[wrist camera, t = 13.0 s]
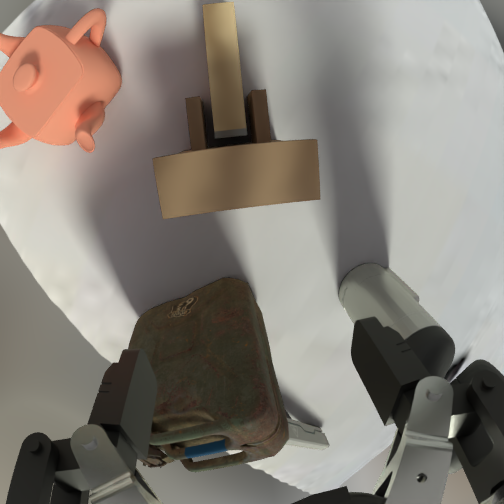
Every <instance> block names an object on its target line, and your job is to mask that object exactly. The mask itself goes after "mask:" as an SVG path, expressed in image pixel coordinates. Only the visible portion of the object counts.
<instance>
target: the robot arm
mask: <svg viewBox="0 0 504 504" xmlns="http://www.w3.org/2000/svg"><path fill="white" fill-rule="evenodd" d="M339 299H340V302H341V304H342V306H343V307H344V309H345V311H346V312H347V314H348V315H349V317H350V319H351V320H352V322H353V323H354V332H353V339H352V346H351V357H352V361H353V364H354V366H355V368H356V370H357V372H358V374H359V376H360V378H361V380H362V382H363V384H364V386H365V387H366V389H367V391H368V393H369V395H370V397H371V399H372V401H373V403H374V405H375V407H376V409H377V411H378V413H379V415H380V417H381V419H382V421H383V423H384V425H385V426H387V425H390V424H393V423H395V424H396V426H397V430H396V432H395V436H394V439H393V442H392V445H391V449H390V451H389V455H388V457H387V460H386V463H385V466H384V468H383V471H382V473H381V476H380V478H379V480H378V481H377V483H376V486H375V488H374V490H373V492H372V494H369V493H361V492H348V489H347V486H345V487H341V488H338V489H334V490H330V491H326V492H322V493H318V494H313V495H311V496H309V497H306V498H304V499H302V500H299V501H297V502H295V503H292V504H441V501H442V497H443V493H444V489H445V485H446V481H447V477H448V474H452V473H455V472H457V471H459V470H460V469H461V468H463V469H464V472H465V474H466V476H467V478H468V480H469V482H470V485H471V487H472V489H473V492H474V494H475V496H476V498H477V501H478V503H479V504H504V376H503V375H502V374H501V373H500V372H499V371H498V370H497V369H496V368H495V367H494V366H493V365H492V364H490V363H489V362H487V361H485V360H476V361H474V362H473V363H471V364H470V365H469V366H468V367H467V368H466V369H465V370H464V371H463V372H462V373H461V374H459V375H458V376H457V377H456V378H457V380H456V379H454V380H453V381H452V382H451V383H449V382H448V381H446V380H445V379H443V378H444V376H445V374H446V373H447V371H448V369H449V367H450V365H451V363H452V361H453V358H454V354H455V345H454V342H453V340H452V338H451V337H450V336H449V334H448V333H447V332H446V331H445V330H444V329H443V328H442V327H441V326H440V325H439V324H438V323H437V322H436V321H435V320H434V319H433V317H432V316H431V315H430V314H429V313H428V312H427V311H426V310H425V309H424V308H423V307H422V306H421V305H420V304H419V296H418V295H417V294H416V293H415V292H414V291H413V290H412V289H411V288H410V287H409V286H408V285H407V284H406V283H405V282H404V281H403V280H401V279H400V278H399V277H398V276H397V275H396V274H395V273H394V272H393V271H392V270H391V269H390V268H383V267H381V266H380V265H378V264H375V263H367V264H363V265H360V266H358V267H356V268H354V269H353V270H352V271H351V272H349V273H348V275H347V276H346V277H345V278H344V280H343V282H342V283H341V286H340V290H339ZM156 395H157V380H156V376H155V374H154V372H153V369H152V367H151V365H150V362H149V360H148V358H147V355H146V353H145V351H144V349H124V350H123V351H122V354H121V357H120V360H119V363H113V364H112V365H111V366H110V367H109V368H108V369H107V371H106V372H105V374H104V377H103V380H102V385H100V388H99V393H98V394H97V397H96V400H95V403H94V406H93V410H92V412H91V415H90V418H89V421H88V424H87V425H84V426H82V427H80V428H78V429H77V430H76V431H75V432H74V433H73V435H72V437H71V438H69V439H62V440H56V441H51V440H50V439H49V438H48V436H47V435H45V434H43V433H39V432H37V433H33V434H30V435H29V436H28V437H27V438H26V439H25V440H24V441H23V443H22V446H21V449H20V452H19V455H18V459H17V462H16V465H15V469H14V472H13V476H12V480H11V484H10V488H9V492H8V496H7V501H6V504H88V499H89V498H90V501H91V503H92V504H163V503H162V502H161V500H160V499H159V498H158V497H157V495H156V494H155V493H154V492H153V490H152V489H151V487H150V486H149V485H148V483H147V482H146V481H145V479H144V478H143V477H142V475H141V474H140V472H139V471H138V470H137V468H136V461H137V459H144V460H147V456H148V449H149V441H150V434H151V427H152V420H153V413H154V407H155V401H156ZM53 483H54V485H53ZM52 486H53V490H52ZM89 490H91V491H92V495H90V496H89ZM51 492H52V496H51ZM50 497H51V502H50Z"/></svg>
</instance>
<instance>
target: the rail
mask: <svg viewBox="0 0 504 504" xmlns="http://www.w3.org/2000/svg"><path fill="white" fill-rule="evenodd" d="M203 18H204V30H205V42H206V53H207V64H208V74H209V85H210V95H211V105H212V114H213V124H214V133H215V139H216V138H225V137H234V136H243V135H247V129H246V119H245V109H244V99H243V89H242V79H241V69H240V59H239V49H238V39H237V30H236V20H235V10H234V2H224V3H213V4H204V5H203Z"/></svg>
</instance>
